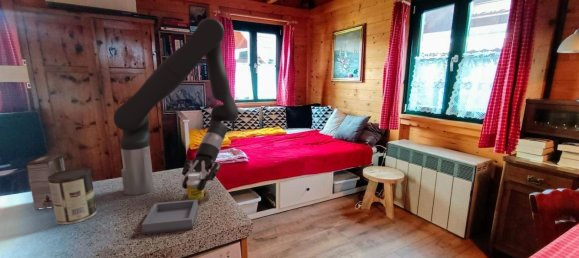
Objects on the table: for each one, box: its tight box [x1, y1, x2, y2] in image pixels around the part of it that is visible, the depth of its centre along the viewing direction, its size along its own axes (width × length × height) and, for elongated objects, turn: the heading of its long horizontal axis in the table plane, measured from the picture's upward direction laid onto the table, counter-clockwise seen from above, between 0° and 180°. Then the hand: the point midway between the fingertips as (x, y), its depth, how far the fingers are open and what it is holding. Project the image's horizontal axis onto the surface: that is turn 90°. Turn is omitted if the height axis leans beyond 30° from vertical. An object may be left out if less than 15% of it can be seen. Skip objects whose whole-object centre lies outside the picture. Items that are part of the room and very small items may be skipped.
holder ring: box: [181, 190, 210, 206], centre depth 94 cm, size 9×9×2 cm
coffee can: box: [48, 167, 98, 225], centre depth 82 cm, size 10×10×14 cm
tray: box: [141, 199, 199, 236], centre depth 80 cm, size 13×13×3 cm
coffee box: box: [25, 154, 67, 210], centre depth 91 cm, size 9×6×16 cm
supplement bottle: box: [186, 172, 205, 200], centre depth 93 cm, size 5×5×10 cm
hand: (191, 189), depth 92 cm, fingers open, 5 cm apart
